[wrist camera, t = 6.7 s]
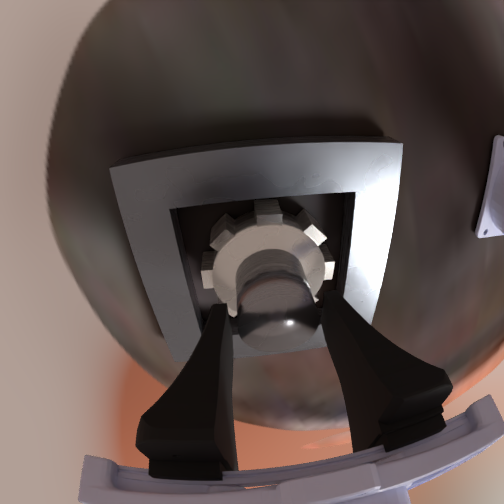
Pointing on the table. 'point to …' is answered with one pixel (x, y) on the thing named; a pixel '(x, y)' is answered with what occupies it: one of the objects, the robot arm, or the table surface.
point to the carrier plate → (256, 187)
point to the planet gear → (269, 274)
